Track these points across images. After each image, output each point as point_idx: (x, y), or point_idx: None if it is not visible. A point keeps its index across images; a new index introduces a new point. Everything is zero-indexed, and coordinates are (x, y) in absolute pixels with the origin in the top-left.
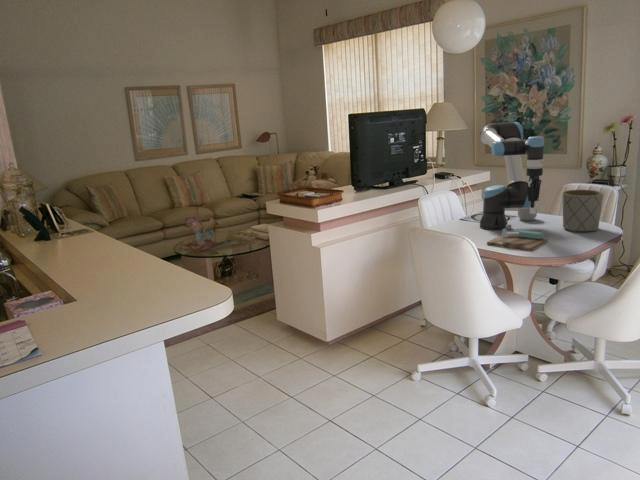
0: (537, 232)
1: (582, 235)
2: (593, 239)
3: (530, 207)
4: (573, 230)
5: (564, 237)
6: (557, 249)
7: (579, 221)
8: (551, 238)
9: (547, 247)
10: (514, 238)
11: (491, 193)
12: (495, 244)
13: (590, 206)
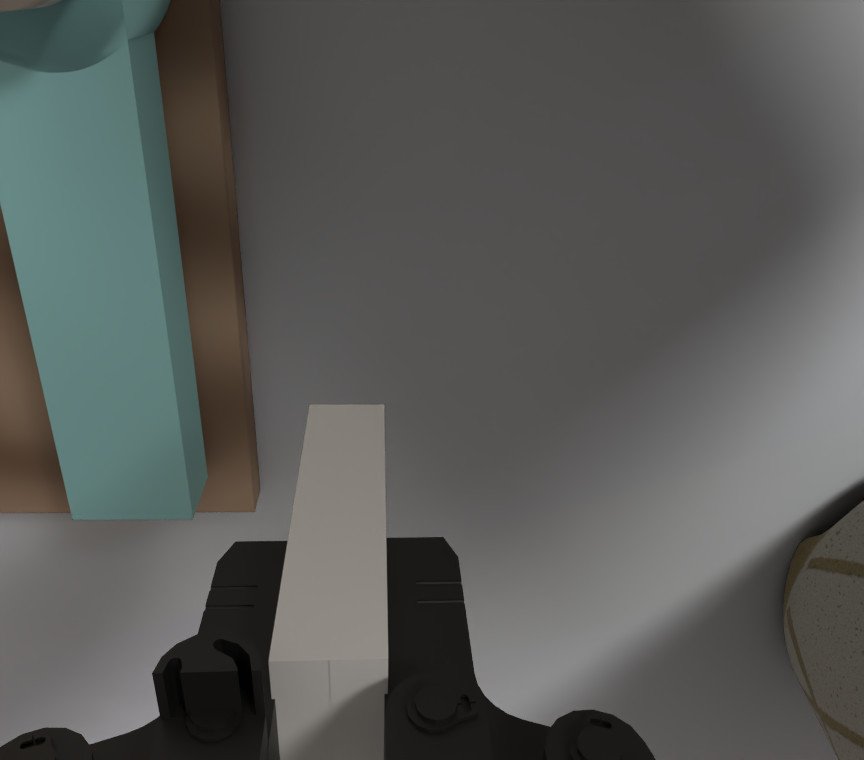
0: (153, 461)
1: (667, 659)
2: None
3: (293, 514)
4: (793, 580)
5: (513, 565)
6: (6, 651)
7: (834, 723)
8: (403, 479)
9: (3, 565)
10: None
11: None
12: None
13: None
